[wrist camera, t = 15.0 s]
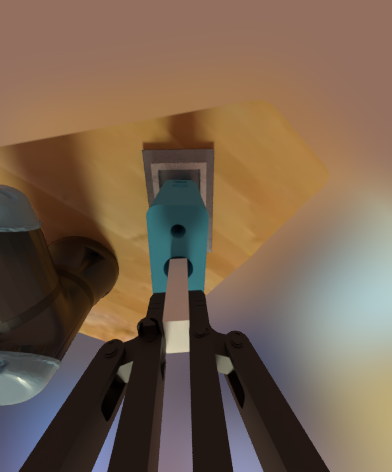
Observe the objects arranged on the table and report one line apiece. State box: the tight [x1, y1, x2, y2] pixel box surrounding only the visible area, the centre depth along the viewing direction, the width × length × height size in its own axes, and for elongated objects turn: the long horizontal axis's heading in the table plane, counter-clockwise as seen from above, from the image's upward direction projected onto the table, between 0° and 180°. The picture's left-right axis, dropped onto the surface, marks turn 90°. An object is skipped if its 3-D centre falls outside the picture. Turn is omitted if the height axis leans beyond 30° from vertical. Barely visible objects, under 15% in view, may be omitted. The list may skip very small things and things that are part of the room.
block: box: [146, 180, 209, 294], centre depth 26 cm, size 12×5×20 cm, turn 178°
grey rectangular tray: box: [142, 149, 214, 252], centre depth 35 cm, size 12×20×3 cm, turn 1°
